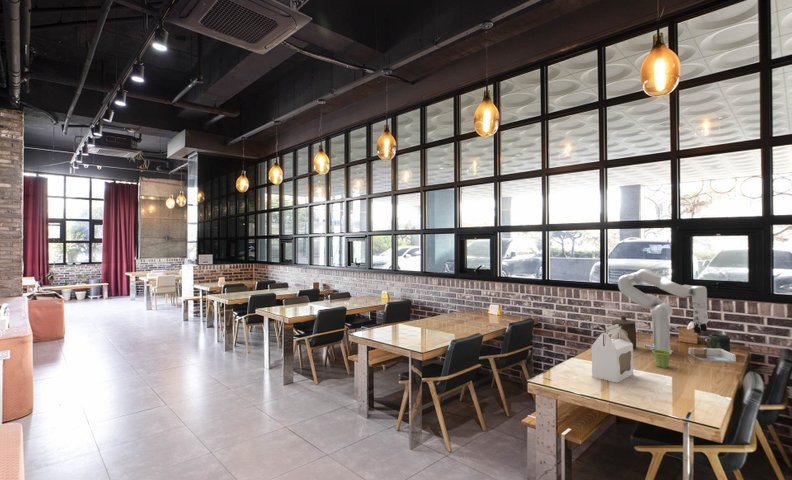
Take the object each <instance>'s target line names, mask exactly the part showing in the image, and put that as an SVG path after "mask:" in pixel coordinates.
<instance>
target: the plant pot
mask: <svg viewBox="0 0 792 480" xmlns="http://www.w3.org/2000/svg"><path fill="white" fill-rule="evenodd" d="M652 353H653V355H654V361H655V365H656V367H659V368H665V369H666V368H669V363H670V357H671V355H672V353H671V352H669V351H664V350H653V351H652Z"/></svg>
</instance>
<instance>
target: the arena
mask: <svg viewBox="0 0 792 480" xmlns="http://www.w3.org/2000/svg"><path fill="white" fill-rule="evenodd" d="M695 348H696V347H688V355H690V356H691V357H694V349H695ZM702 348H703V349H707V357H706V358H700V357H694V358H696V359H698V360H700V361H709V362H711V361H712V362H732V363H733V362H734V363H736V362H737V357H736V354H734V353H732V352H731V351H730V352H727V351H725V350H723V349H710V348H708V347H706V348H705V347H702Z"/></svg>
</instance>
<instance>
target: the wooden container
mask: <svg viewBox="0 0 792 480" xmlns="http://www.w3.org/2000/svg"><path fill="white" fill-rule="evenodd" d="M611 321H612V323H611V326H612V325H615V324H618V325H619V327H620V326H621V328H620V329H621V330H623V332H624V333H625V334H626V336H627V337H628V338H629V340H630V341H631V342H632V343H633V350H635V349H637V332H636V329H637V327H636V322H635V321H634V320H629V319H627V316H625V315H622V316H620V319H612V320H611ZM620 339H621V338H620Z"/></svg>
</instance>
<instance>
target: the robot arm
mask: <svg viewBox="0 0 792 480" xmlns="http://www.w3.org/2000/svg"><path fill="white" fill-rule="evenodd" d="M642 283H646V284H649V285H651V286H654V287H657V288H659V289H660V290H662V291H665V292H667V293H669V294H671V295H674V296H677V297H679V298H687V297H692V299H691V300H692V308H693V312H692V313H693V314H692V315H693V316H692V319H693V320H692V321H693V330H694V331H693V333H695V334H701V332H707V331H708V327H707V325H708V324H707V323H709V317H708V314H709V313H708V291H707V287H706V286H705V285H704V286H703V285H689V284H683V285H682V284H679V283H677V282H673V281H671V280H670V279H668V278H667V277H666V276H665V275H662V274H660V273H659V274H658V273H656V272H653V270H651V269H649V268H642V269H639V270H638V271H636V272H633V273H628V274H623V275H620V277H619V278H618V280H617V286H618V287H617V288H618V289H619V291H620V292H621V293H622V294H623V295H624V296H626V297H627V298H629V299H630V300H632V302H634V303H636V304H637V305H639V307H641V308H643V309H645V310H646V309H650V310H651V312H650V313H651V320H652V343H651V344H645V345H644V347H645V348H646V349H650V351H651V352H653V350H664V351H669V352H671V354H672V353H674V351H673V350H672V349H671V346H670V345H671V344H670V343H671V342H670V337H671V336H670V334H671V333H670V321H669V320H670V319H669V317H671V316H672V315H673V313H674V312H673V308H672V306H671V305H669V303H667V302H665V301H664V300H663V299H660V298H659V297H657V296H656V295H654V294H651V293H647V294H646V293H644V292H643V291H641V290H640V289H638V288H636V287H634V286H635V285H638V284H642Z"/></svg>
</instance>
